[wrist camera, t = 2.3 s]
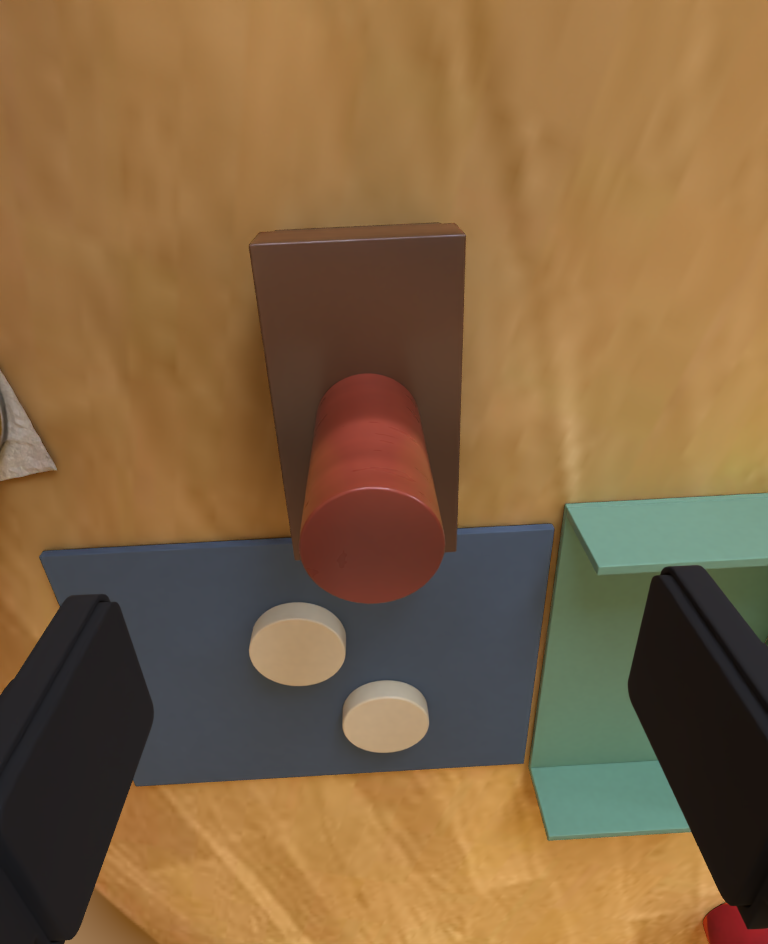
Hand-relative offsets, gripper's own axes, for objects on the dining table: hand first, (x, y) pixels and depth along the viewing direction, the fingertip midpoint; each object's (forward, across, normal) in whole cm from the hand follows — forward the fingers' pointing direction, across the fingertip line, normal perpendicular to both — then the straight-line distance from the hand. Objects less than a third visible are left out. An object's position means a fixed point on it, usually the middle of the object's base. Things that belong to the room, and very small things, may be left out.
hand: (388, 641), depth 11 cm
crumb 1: (+11, +4, +11) cm, 16 cm away
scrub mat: (+12, +3, +13) cm, 18 cm away
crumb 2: (+11, 0, +16) cm, 19 cm away
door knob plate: (+11, 0, -1) cm, 11 cm away
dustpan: (+12, -17, +13) cm, 25 cm away
